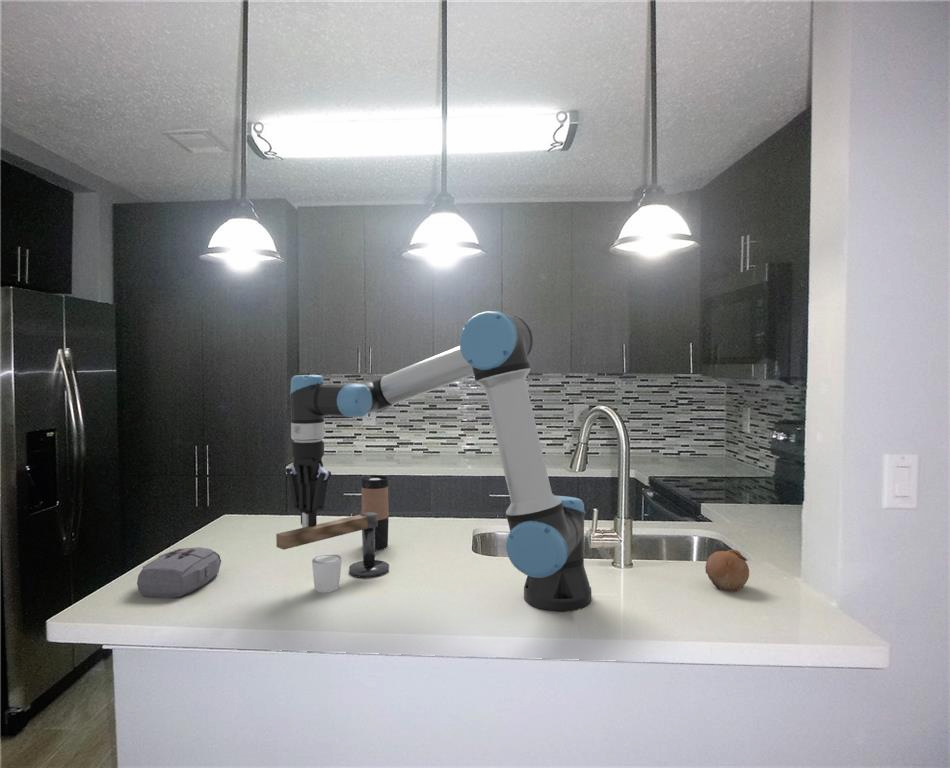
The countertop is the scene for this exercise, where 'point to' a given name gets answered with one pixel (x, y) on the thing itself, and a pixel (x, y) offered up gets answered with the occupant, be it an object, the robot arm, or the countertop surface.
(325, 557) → the white cup
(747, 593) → the countertop surface
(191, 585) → the soft grey pack
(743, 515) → the countertop surface
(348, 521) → the swing arm
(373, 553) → the swing post
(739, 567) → the onion
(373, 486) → the travel mug
